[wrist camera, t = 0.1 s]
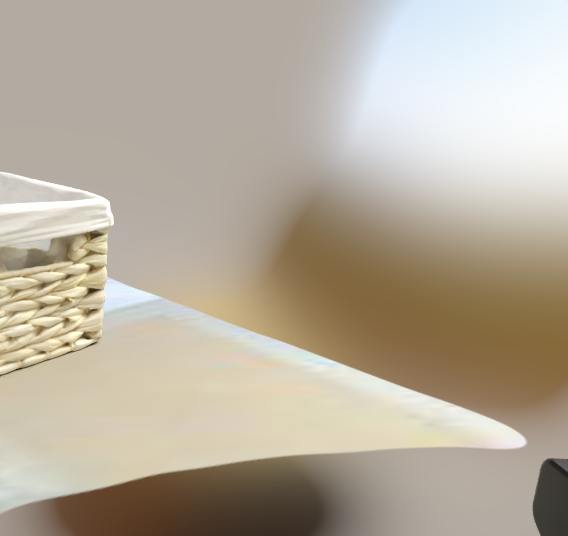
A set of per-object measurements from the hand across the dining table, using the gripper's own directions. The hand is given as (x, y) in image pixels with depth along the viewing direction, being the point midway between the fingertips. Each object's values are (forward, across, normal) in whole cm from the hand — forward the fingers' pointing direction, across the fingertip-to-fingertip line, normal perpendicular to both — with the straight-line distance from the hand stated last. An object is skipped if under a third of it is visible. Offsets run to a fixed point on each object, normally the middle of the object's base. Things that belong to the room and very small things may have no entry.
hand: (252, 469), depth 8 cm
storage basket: (+43, +28, +17) cm, 54 cm away
